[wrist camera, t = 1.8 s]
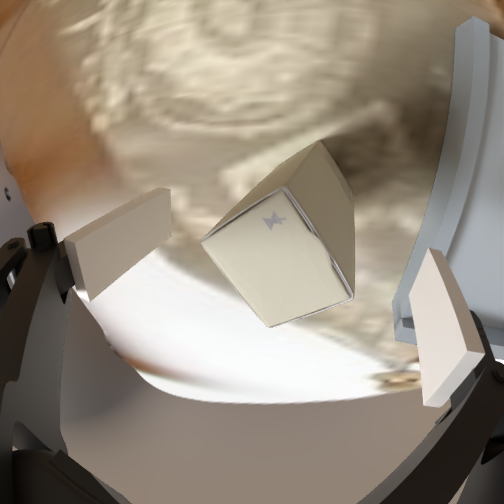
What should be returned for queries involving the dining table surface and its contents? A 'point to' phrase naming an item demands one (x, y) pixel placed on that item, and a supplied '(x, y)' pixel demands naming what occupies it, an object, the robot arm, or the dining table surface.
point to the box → (290, 240)
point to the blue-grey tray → (468, 189)
